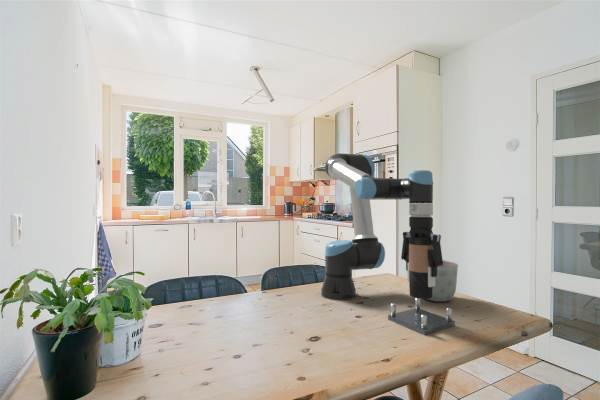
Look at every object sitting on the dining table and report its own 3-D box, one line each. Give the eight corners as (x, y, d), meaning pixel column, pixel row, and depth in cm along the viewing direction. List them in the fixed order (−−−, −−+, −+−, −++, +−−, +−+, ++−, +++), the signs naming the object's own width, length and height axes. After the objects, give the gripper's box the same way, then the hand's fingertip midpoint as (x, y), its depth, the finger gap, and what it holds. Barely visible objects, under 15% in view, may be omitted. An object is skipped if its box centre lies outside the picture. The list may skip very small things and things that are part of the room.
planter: (460, 297, 137) (460, 261, 137) (455, 308, 123) (455, 268, 123) (418, 291, 146) (419, 257, 146) (409, 300, 132) (409, 263, 132)
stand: (388, 319, 111) (388, 303, 111) (417, 311, 119) (417, 297, 119) (424, 335, 98) (424, 317, 98) (454, 325, 106) (454, 308, 106)
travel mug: (435, 299, 104) (435, 238, 104) (410, 298, 105) (410, 237, 105) (430, 293, 111) (430, 235, 111) (407, 292, 113) (407, 235, 113)
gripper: (390, 215, 115) (390, 278, 115) (440, 217, 98) (440, 292, 97) (404, 215, 119) (404, 276, 119) (455, 217, 101) (455, 289, 101)
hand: (421, 283), depth 108 cm, fingers closed on travel mug, 8 cm apart
